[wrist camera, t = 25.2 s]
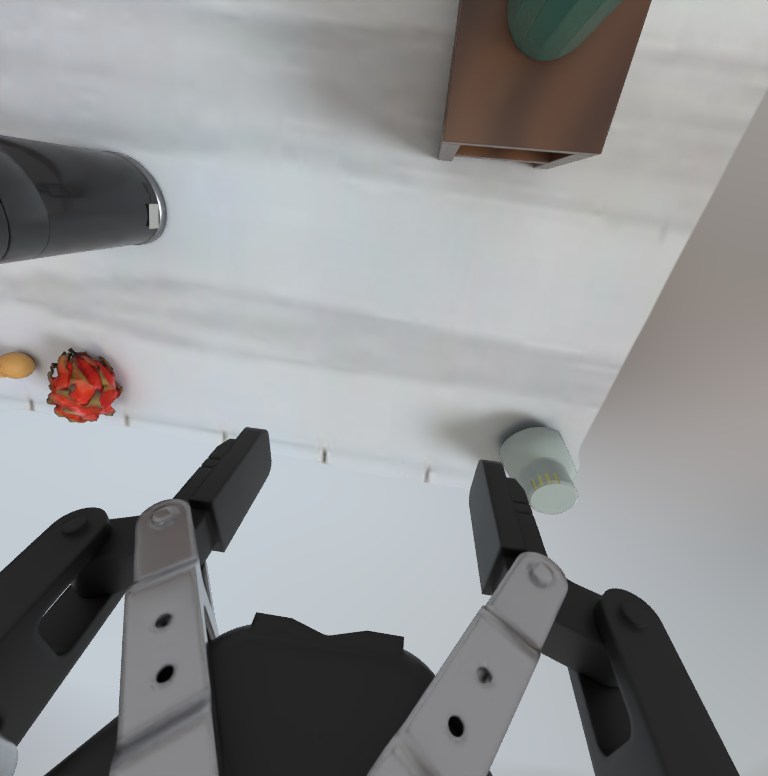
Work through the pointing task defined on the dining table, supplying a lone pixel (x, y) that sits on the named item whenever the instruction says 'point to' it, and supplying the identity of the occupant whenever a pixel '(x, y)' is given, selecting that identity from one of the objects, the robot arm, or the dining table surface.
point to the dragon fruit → (82, 387)
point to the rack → (534, 89)
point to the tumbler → (555, 24)
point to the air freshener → (541, 468)
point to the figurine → (16, 365)
